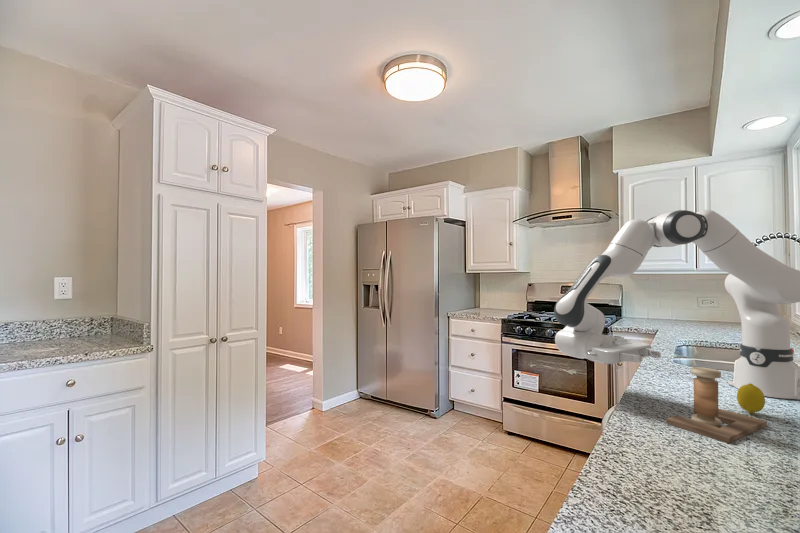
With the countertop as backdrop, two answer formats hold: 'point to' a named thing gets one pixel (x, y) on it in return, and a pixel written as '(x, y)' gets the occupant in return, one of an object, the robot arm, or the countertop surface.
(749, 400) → the lemon
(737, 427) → the notched board
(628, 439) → the countertop surface
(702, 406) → the bobbin
